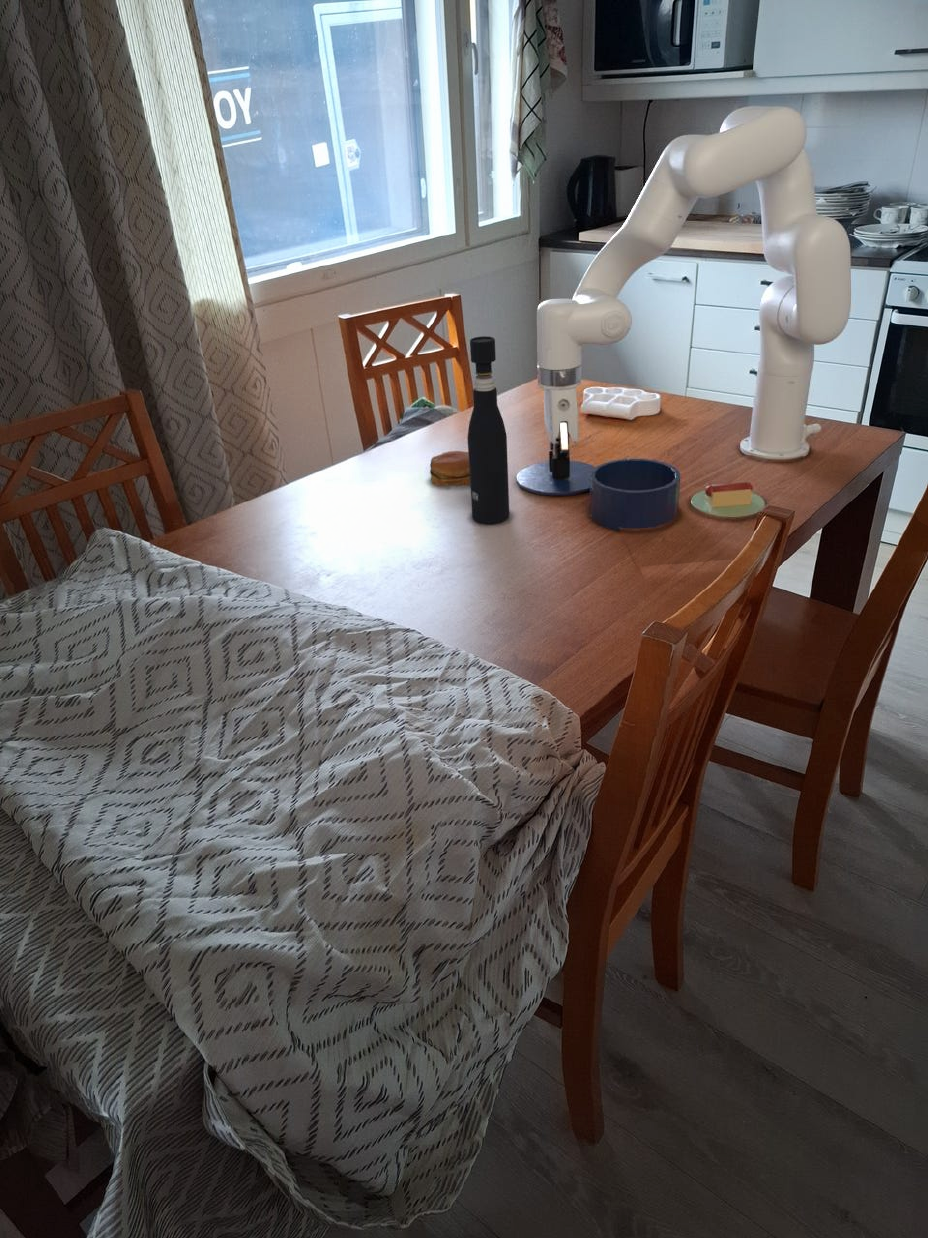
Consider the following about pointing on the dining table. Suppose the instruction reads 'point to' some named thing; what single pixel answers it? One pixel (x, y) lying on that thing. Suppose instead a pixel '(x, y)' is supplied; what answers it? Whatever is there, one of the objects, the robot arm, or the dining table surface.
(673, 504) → the pot
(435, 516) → the dining table surface
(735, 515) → the plate
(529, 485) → the pot lid
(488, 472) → the black bottle
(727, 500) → the hot dog
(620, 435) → the dining table surface
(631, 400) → the white compartment tray
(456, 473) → the burger
